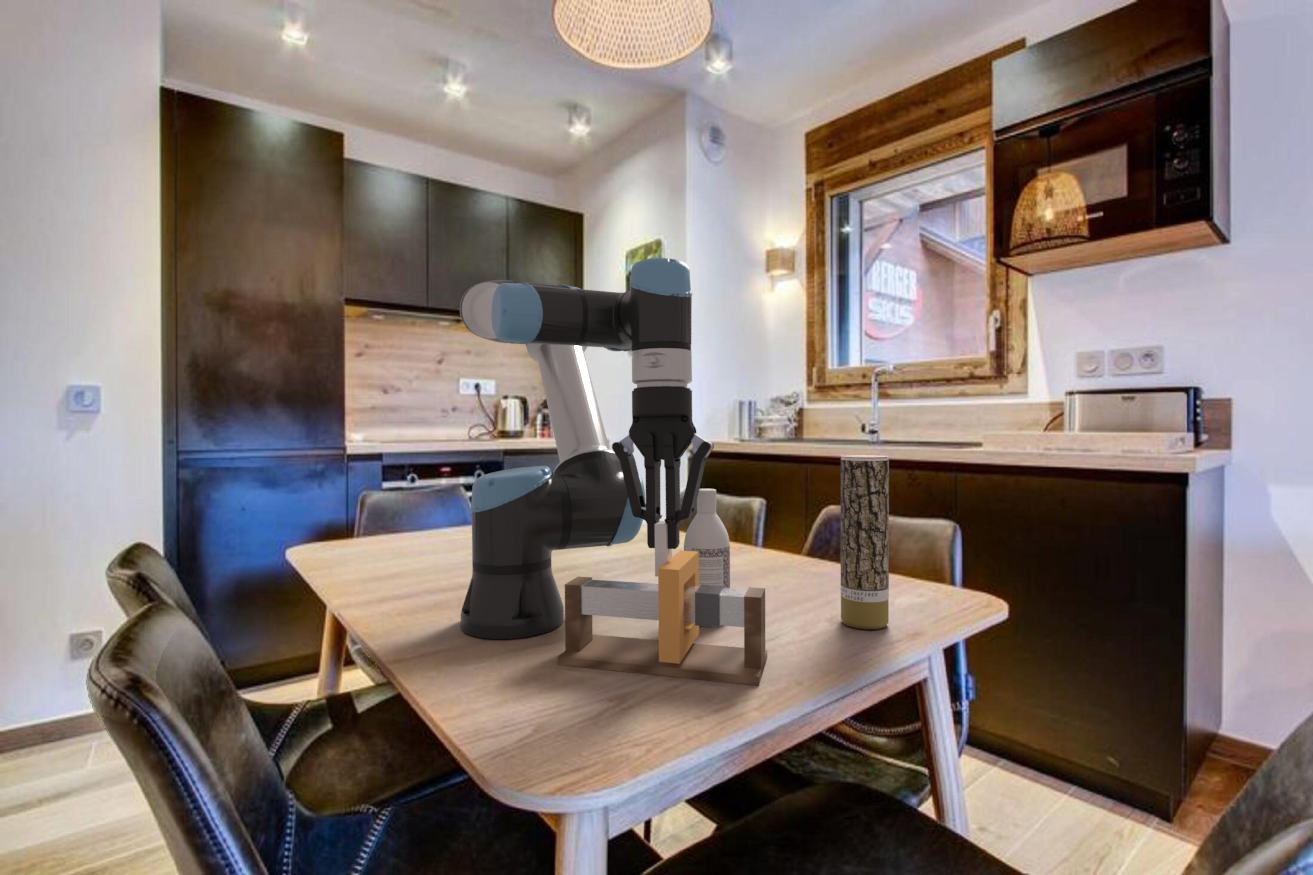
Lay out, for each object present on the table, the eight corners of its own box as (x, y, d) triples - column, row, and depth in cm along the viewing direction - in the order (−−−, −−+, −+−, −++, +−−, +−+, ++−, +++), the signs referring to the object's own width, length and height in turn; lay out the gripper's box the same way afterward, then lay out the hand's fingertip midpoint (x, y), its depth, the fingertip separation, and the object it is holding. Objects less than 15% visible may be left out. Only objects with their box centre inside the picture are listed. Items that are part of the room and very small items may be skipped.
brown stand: (557, 664, 80) (557, 588, 80) (585, 640, 89) (584, 572, 89) (759, 685, 73) (758, 602, 73) (767, 657, 82) (767, 583, 82)
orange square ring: (658, 661, 75) (658, 568, 75) (680, 632, 86) (680, 550, 86) (679, 663, 75) (679, 569, 75) (699, 633, 85) (698, 551, 85)
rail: (576, 615, 82) (576, 584, 82) (588, 607, 86) (587, 577, 86) (748, 629, 76) (748, 596, 76) (752, 619, 80) (752, 587, 80)
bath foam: (739, 623, 96) (738, 490, 96) (698, 629, 93) (698, 492, 93) (715, 611, 102) (714, 486, 102) (676, 617, 99) (675, 488, 99)
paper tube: (892, 632, 91) (892, 457, 91) (842, 629, 93) (842, 457, 92) (884, 618, 98) (885, 455, 98) (838, 615, 99) (838, 455, 99)
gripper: (602, 385, 78) (604, 578, 79) (706, 382, 75) (708, 584, 75) (622, 389, 86) (624, 565, 86) (718, 386, 82) (720, 570, 82)
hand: (663, 574), depth 80 cm, fingers closed
